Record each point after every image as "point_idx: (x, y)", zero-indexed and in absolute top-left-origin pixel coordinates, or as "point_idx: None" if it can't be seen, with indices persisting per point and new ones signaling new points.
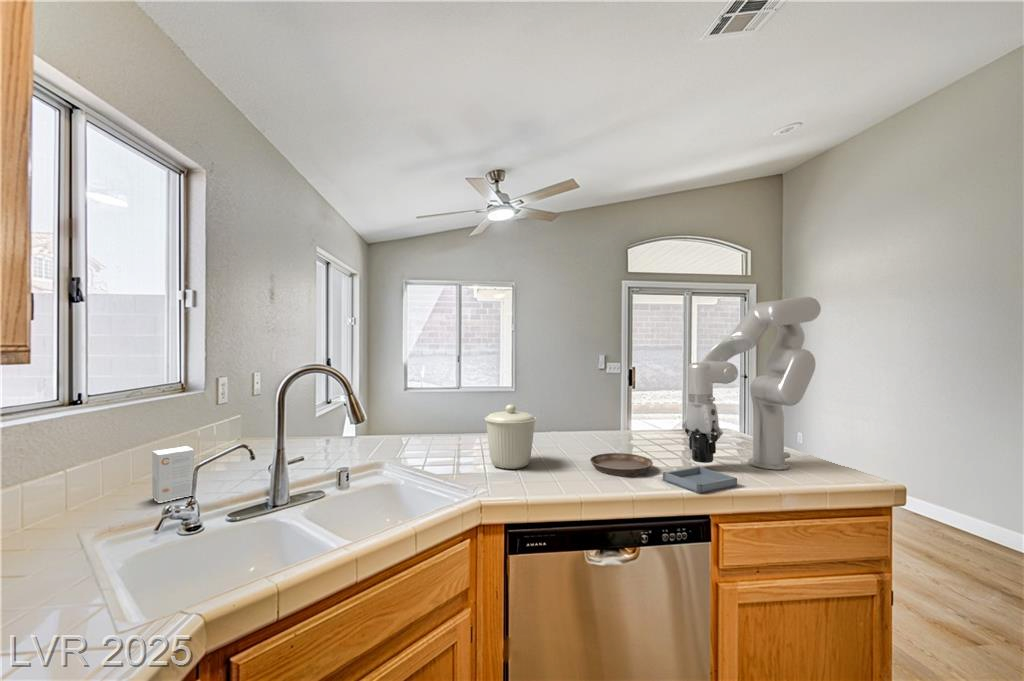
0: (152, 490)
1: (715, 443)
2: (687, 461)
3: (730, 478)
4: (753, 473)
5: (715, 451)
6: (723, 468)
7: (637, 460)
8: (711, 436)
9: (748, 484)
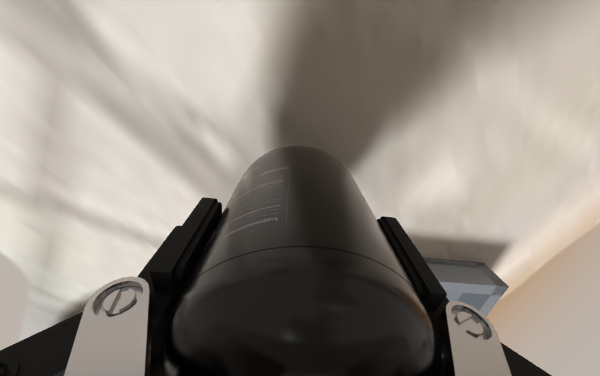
0: None
1: (446, 299)
2: (146, 110)
3: (488, 305)
4: (524, 12)
5: (397, 223)
6: (355, 68)
7: None
8: (434, 364)
9: (516, 216)
